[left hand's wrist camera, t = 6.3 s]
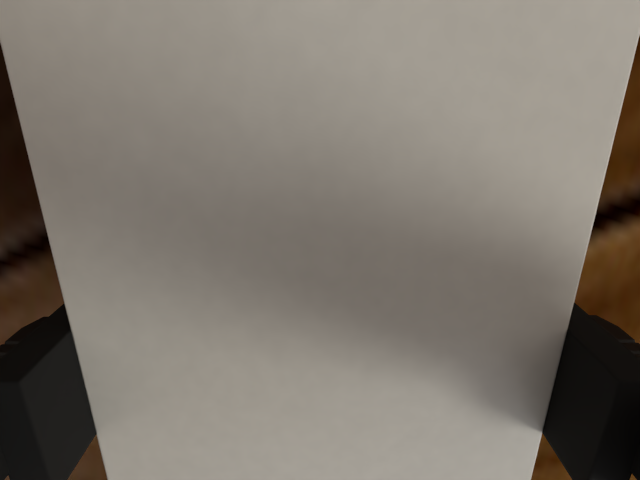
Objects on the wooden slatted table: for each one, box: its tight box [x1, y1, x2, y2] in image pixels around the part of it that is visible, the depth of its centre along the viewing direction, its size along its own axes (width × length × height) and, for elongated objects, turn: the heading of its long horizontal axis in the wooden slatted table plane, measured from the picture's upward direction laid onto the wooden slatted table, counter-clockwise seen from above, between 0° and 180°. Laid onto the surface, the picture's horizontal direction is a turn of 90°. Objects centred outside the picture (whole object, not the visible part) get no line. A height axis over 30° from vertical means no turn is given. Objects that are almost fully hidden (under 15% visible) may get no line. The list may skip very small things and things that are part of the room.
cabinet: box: [0, 0, 640, 480], centre depth 11 cm, size 17×10×9 cm, turn 0°
